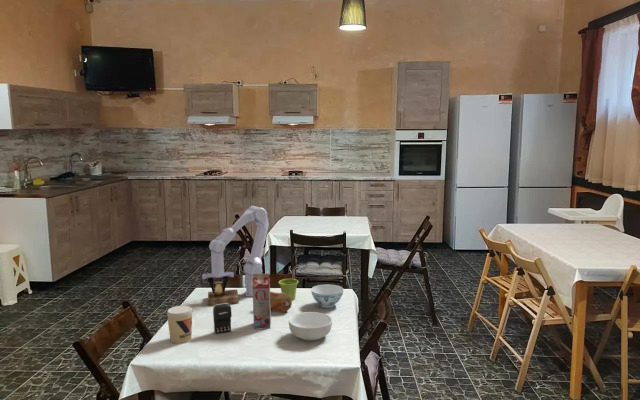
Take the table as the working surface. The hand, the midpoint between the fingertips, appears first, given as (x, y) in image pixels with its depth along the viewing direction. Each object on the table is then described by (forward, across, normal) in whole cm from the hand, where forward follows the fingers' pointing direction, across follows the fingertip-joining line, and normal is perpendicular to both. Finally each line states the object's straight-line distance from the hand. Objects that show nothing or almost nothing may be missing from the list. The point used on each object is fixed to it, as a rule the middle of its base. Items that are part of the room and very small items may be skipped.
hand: (218, 292), depth 221 cm
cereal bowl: (+4, +34, -52) cm, 62 cm away
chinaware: (+4, +49, -20) cm, 53 cm away
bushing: (+2, 0, 0) cm, 2 cm away
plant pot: (+4, +33, -6) cm, 34 cm away
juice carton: (+4, +17, -36) cm, 40 cm away
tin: (+4, +25, -20) cm, 32 cm away
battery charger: (+4, +1, -39) cm, 39 cm away
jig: (+4, +2, 0) cm, 5 cm away
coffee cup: (+4, -15, -42) cm, 45 cm away
